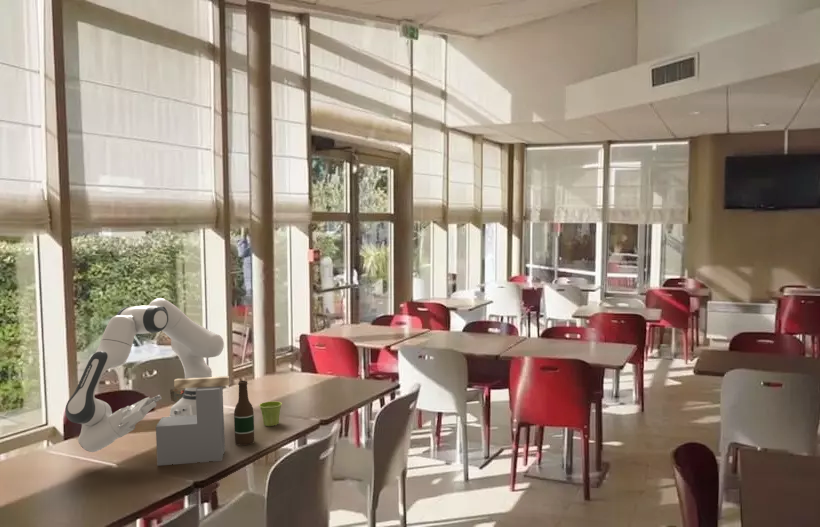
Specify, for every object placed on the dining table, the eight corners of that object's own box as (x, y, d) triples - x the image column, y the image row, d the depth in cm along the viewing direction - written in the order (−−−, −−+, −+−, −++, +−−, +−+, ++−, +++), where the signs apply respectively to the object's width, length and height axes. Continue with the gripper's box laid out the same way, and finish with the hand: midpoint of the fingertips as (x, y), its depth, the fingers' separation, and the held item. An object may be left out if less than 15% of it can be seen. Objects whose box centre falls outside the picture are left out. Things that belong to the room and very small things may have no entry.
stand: (157, 465, 244) (154, 392, 243) (163, 454, 256) (160, 385, 254) (221, 460, 248) (219, 389, 246) (224, 450, 260) (222, 381, 258)
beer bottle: (249, 445, 264) (247, 383, 263) (231, 445, 266) (228, 383, 264) (258, 439, 272) (256, 379, 270) (239, 438, 273) (237, 378, 272)
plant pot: (275, 428, 286) (274, 407, 286) (255, 426, 289) (254, 406, 289) (286, 422, 295) (285, 402, 295) (267, 420, 298) (266, 400, 298)
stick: (174, 388, 248) (174, 380, 248) (175, 387, 251) (175, 379, 251) (228, 385, 251) (228, 377, 251) (229, 384, 254) (229, 376, 254)
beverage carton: (192, 407, 323) (191, 393, 322) (169, 401, 335) (169, 388, 335) (207, 404, 329) (206, 390, 329) (184, 398, 341) (183, 385, 341)
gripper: (111, 422, 237) (147, 400, 238) (125, 406, 257) (158, 386, 258) (121, 437, 237) (157, 415, 239) (135, 420, 258) (167, 399, 259)
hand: (158, 399), depth 249 cm, fingers open, 8 cm apart
